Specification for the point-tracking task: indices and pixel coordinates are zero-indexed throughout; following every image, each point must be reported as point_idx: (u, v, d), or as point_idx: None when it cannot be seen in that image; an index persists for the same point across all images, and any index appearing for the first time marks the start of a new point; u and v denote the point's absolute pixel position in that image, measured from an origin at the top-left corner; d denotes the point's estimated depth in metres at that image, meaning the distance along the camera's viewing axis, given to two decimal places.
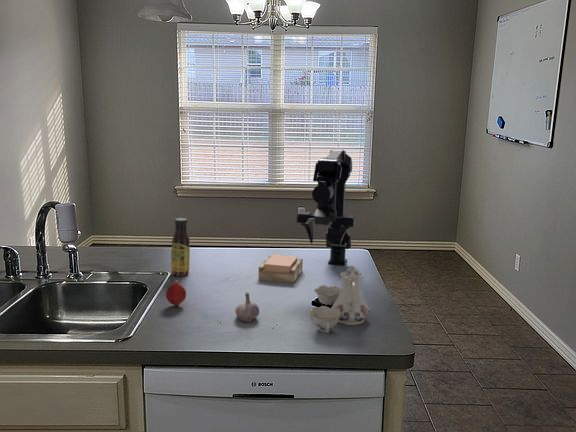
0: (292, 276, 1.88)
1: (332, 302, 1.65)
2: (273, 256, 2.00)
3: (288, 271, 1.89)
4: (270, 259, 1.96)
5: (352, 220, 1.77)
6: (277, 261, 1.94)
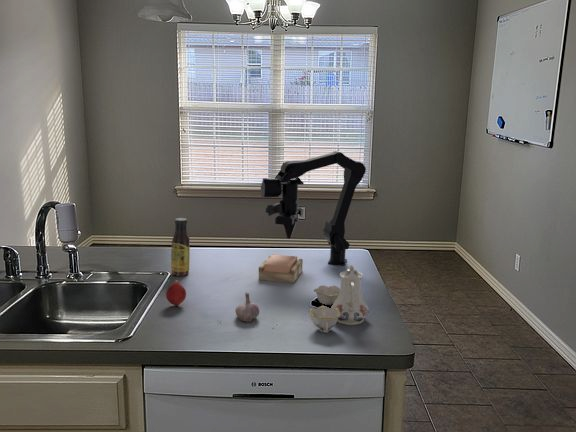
0: (292, 276, 1.88)
1: (332, 302, 1.65)
2: (273, 256, 2.00)
3: (288, 271, 1.89)
4: (270, 259, 1.96)
5: (276, 218, 1.95)
6: (277, 261, 1.94)
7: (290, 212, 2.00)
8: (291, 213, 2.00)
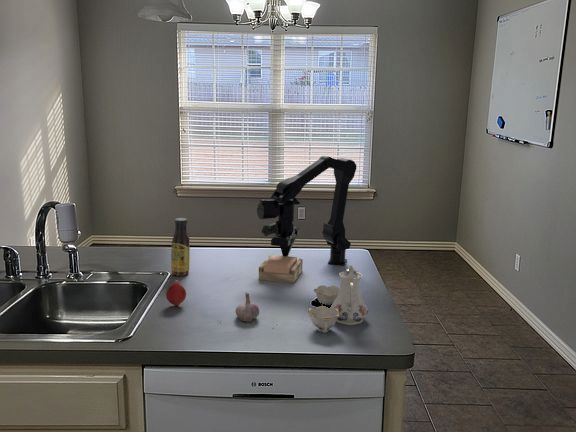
0: (292, 276, 1.88)
1: (331, 302, 1.65)
2: (273, 256, 1.99)
3: (288, 272, 1.89)
4: (270, 260, 1.95)
5: (272, 239, 1.92)
6: (277, 262, 1.93)
7: (286, 233, 1.97)
8: (287, 234, 1.97)
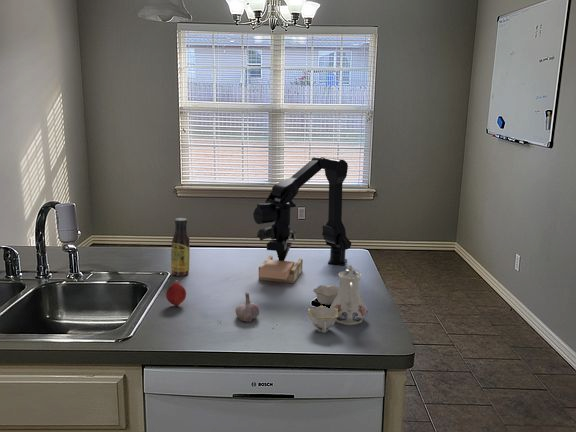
0: (292, 276, 1.88)
1: (331, 302, 1.65)
2: (269, 261, 1.94)
3: (284, 277, 1.83)
4: (266, 264, 1.90)
5: (268, 243, 1.86)
6: (273, 267, 1.87)
7: (282, 237, 1.91)
8: (284, 238, 1.91)
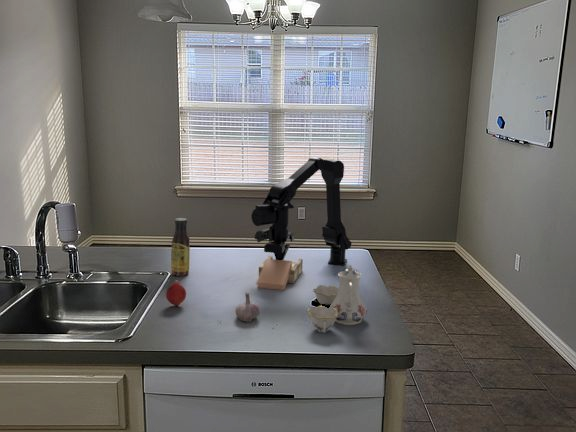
0: (292, 276, 1.88)
1: (330, 302, 1.65)
2: (266, 262, 1.90)
3: (282, 289, 1.82)
4: (263, 271, 1.87)
5: (265, 245, 1.83)
6: (270, 275, 1.85)
7: (280, 239, 1.89)
8: (281, 240, 1.89)
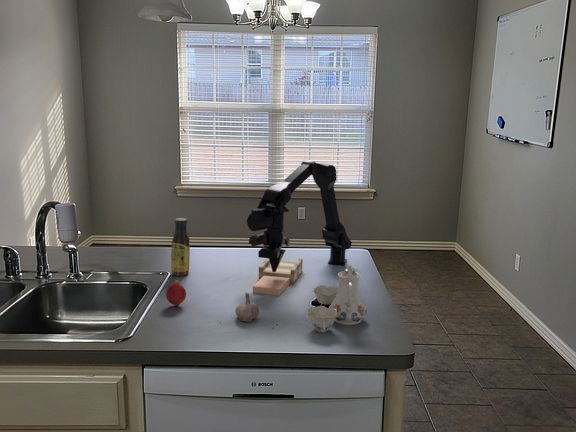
0: (292, 276, 1.88)
1: (330, 302, 1.65)
2: (264, 276, 1.88)
3: (278, 294, 1.77)
4: (260, 280, 1.84)
5: (259, 251, 1.77)
6: (267, 283, 1.82)
7: (275, 244, 1.82)
8: (276, 245, 1.82)
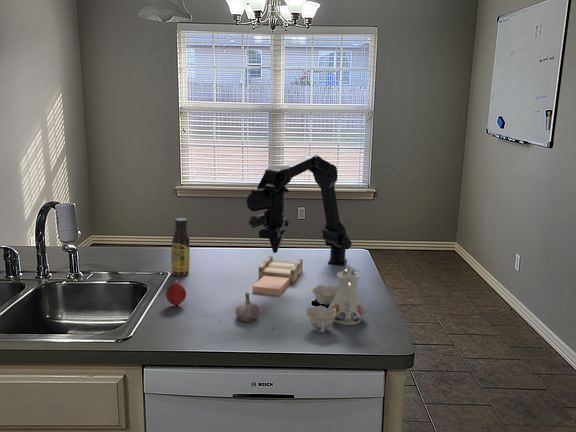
0: (292, 276, 1.88)
1: (329, 302, 1.65)
2: (264, 276, 1.88)
3: (278, 294, 1.77)
4: (260, 280, 1.84)
5: (260, 231, 1.76)
6: (267, 283, 1.82)
7: (276, 224, 1.81)
8: (277, 225, 1.81)
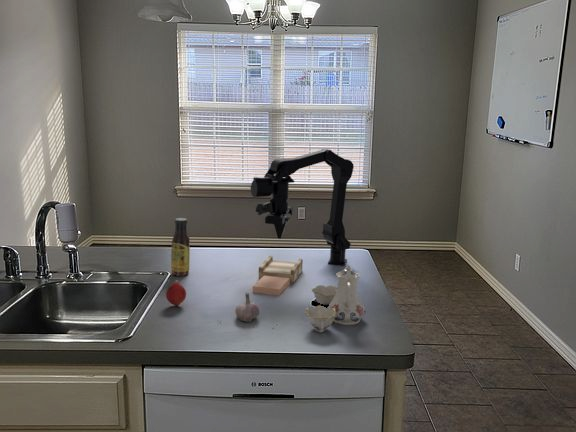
0: (292, 276, 1.88)
1: (329, 302, 1.65)
2: (264, 276, 1.88)
3: (277, 294, 1.77)
4: (260, 280, 1.84)
5: (266, 217, 1.89)
6: (267, 283, 1.82)
7: (280, 211, 1.94)
8: (282, 212, 1.94)
